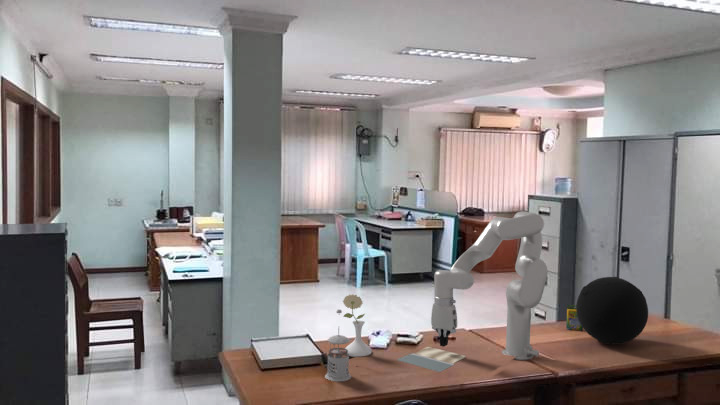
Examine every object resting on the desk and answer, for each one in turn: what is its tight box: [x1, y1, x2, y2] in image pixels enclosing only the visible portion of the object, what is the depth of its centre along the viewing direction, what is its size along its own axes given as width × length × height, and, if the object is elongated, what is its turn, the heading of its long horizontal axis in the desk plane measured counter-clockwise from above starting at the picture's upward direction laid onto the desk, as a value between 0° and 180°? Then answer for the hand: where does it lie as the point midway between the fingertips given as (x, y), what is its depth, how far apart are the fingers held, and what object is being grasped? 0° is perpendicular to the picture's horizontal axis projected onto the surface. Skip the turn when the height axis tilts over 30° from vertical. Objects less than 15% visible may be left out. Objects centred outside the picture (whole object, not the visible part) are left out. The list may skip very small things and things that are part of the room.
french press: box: [324, 309, 352, 382], centre depth 211 cm, size 10×12×25 cm
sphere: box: [575, 276, 649, 345], centre depth 258 cm, size 30×30×30 cm
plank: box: [413, 346, 466, 364], centre depth 233 cm, size 18×10×1 cm, turn 51°
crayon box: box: [565, 304, 584, 331], centre depth 280 cm, size 7×3×12 cm, turn 80°
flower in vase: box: [342, 293, 373, 358], centre depth 235 cm, size 13×11×25 cm
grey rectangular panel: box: [396, 353, 455, 373], centre depth 225 cm, size 20×11×1 cm, turn 51°
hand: (443, 345), depth 234 cm, fingers closed
